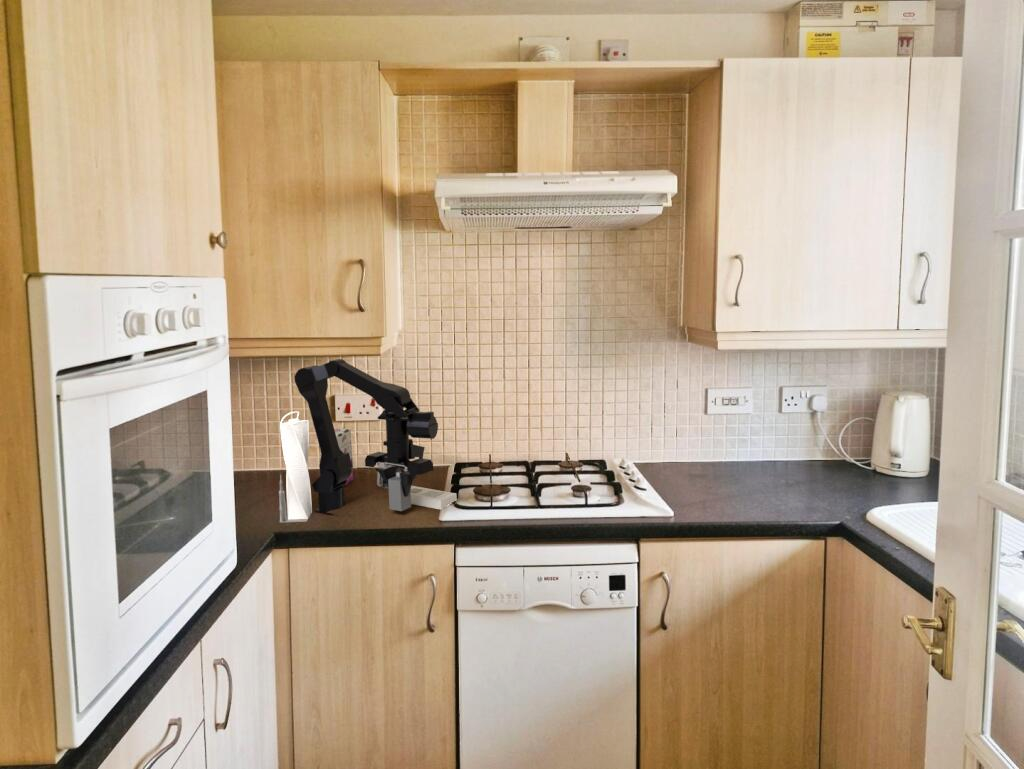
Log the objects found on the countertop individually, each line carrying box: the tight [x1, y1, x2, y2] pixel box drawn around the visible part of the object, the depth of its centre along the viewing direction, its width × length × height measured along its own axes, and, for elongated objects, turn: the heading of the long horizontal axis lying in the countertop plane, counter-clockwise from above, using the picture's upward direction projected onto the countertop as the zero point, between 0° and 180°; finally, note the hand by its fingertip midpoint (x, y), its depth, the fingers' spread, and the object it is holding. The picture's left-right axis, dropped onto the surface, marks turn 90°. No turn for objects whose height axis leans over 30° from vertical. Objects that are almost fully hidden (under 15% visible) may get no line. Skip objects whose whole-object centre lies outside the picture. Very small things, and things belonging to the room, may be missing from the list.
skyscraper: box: [278, 410, 313, 523], centre depth 196 cm, size 8×8×28 cm
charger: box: [388, 472, 412, 512], centre depth 195 cm, size 4×4×10 cm
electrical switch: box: [376, 463, 405, 490], centre depth 223 cm, size 9×5×9 cm, turn 113°
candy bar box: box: [334, 427, 355, 488], centre depth 225 cm, size 11×5×16 cm, turn 170°
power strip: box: [411, 485, 458, 510], centre depth 206 cm, size 7×17×4 cm, turn 58°
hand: (399, 495), depth 195 cm, fingers closed on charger, 4 cm apart
